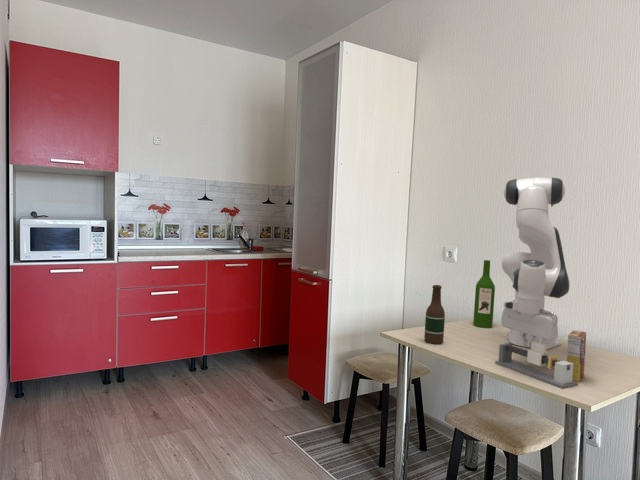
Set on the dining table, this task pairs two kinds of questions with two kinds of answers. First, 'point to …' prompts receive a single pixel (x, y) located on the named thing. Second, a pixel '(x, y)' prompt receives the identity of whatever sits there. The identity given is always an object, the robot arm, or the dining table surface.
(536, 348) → the white rectangular block
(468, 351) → the dining table surface
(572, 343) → the candy box
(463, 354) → the dining table surface
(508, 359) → the linear slide rail
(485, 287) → the wine bottle
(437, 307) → the beer bottle
